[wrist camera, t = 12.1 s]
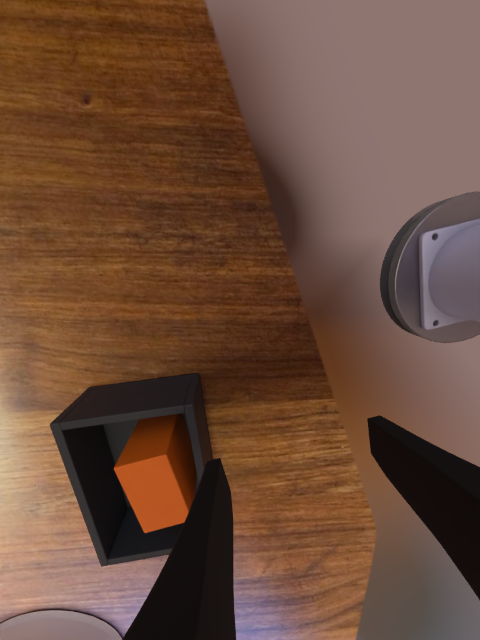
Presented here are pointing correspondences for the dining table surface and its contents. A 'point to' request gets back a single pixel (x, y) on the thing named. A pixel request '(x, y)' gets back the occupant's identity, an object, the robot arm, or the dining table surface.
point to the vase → (56, 627)
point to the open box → (105, 449)
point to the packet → (158, 471)
